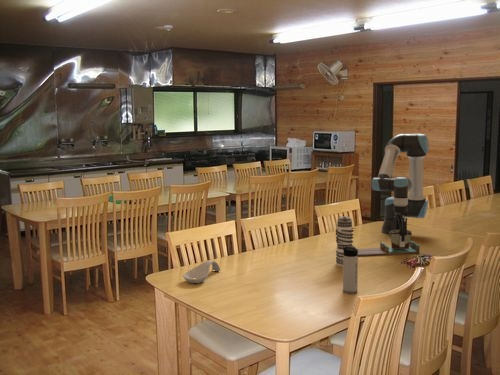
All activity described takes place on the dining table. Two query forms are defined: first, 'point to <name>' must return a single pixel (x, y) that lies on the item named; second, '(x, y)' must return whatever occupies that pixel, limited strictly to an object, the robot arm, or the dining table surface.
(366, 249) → the rack
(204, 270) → the spoon rest
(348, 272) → the travel mug
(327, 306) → the dining table surface
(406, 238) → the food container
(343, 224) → the decorative candle
